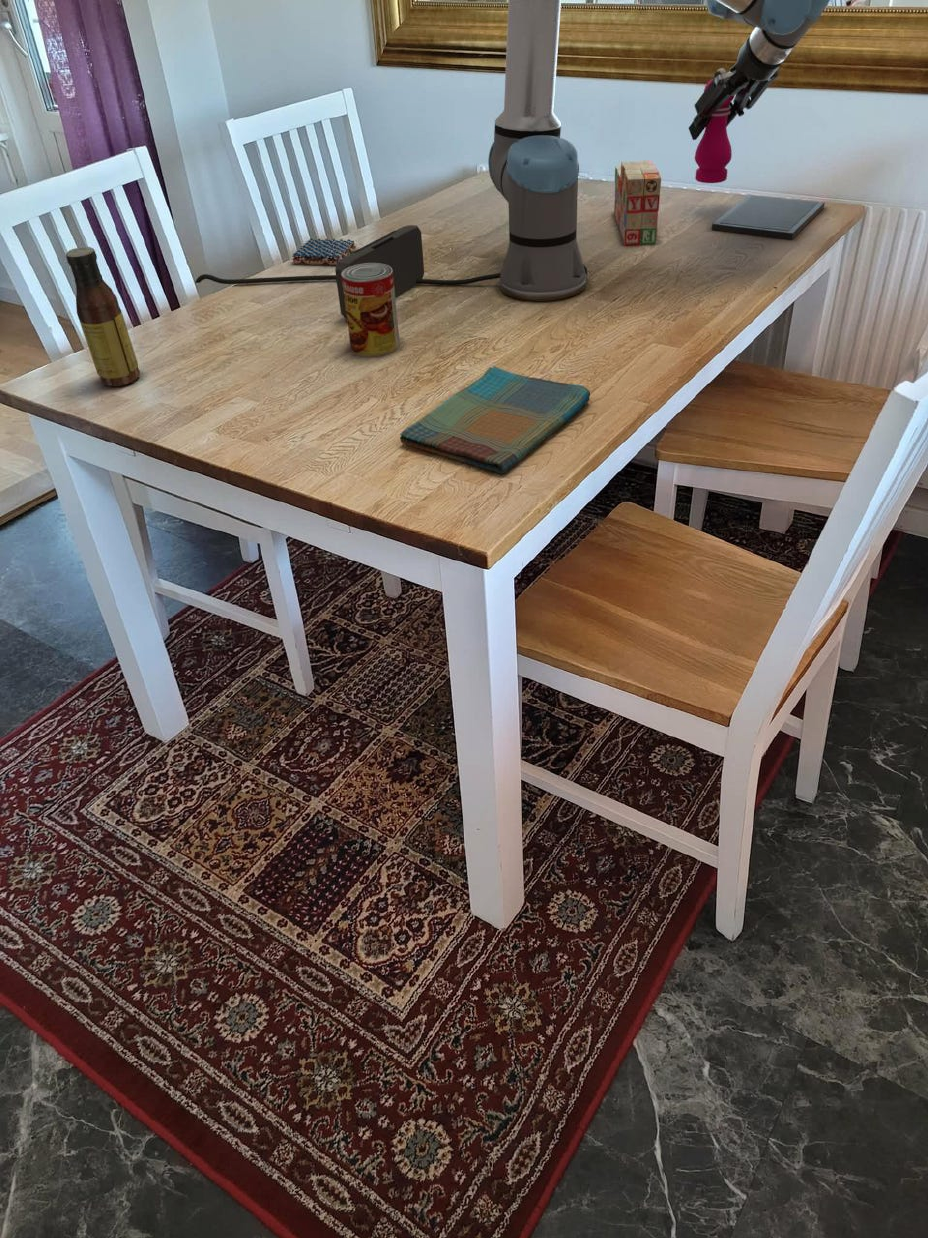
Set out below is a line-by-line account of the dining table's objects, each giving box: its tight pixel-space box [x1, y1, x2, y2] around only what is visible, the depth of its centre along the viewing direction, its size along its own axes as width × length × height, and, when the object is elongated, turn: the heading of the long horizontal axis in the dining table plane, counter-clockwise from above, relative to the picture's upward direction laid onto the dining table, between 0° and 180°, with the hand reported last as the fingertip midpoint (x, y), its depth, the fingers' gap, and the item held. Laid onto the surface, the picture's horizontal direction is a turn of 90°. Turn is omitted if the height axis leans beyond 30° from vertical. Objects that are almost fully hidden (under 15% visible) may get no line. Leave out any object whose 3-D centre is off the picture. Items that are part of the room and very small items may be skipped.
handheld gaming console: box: [334, 224, 425, 320], centre depth 169 cm, size 23×3×10 cm, turn 149°
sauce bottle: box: [65, 246, 141, 387], centre depth 144 cm, size 7×6×20 cm
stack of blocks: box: [613, 160, 662, 246], centre depth 193 cm, size 21×6×12 cm, turn 179°
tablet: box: [711, 194, 826, 241], centre depth 196 cm, size 22×16×1 cm
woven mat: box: [291, 238, 357, 267], centre depth 191 cm, size 10×11×2 cm
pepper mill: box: [694, 67, 736, 184], centre depth 192 cm, size 7×7×20 cm
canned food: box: [341, 263, 401, 357], centre depth 152 cm, size 8×8×12 cm
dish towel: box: [399, 365, 591, 474], centre depth 132 cm, size 17×23×2 cm
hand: (704, 131), depth 196 cm, fingers closed on pepper mill, 5 cm apart
